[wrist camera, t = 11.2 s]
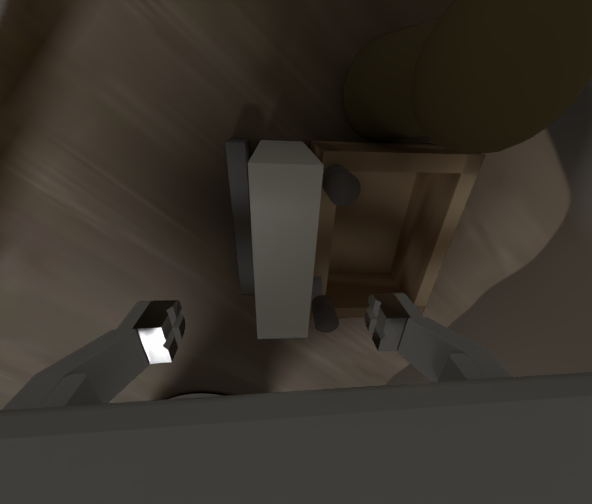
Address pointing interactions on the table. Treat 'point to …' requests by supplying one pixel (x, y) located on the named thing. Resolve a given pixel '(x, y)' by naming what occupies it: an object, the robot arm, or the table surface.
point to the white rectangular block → (284, 235)
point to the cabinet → (369, 220)
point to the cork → (473, 74)
